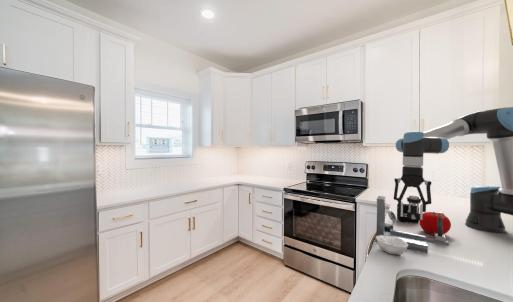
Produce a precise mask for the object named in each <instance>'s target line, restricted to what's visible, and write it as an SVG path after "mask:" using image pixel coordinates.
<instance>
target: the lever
mask: <svg viewBox="0 0 513 302" xmlns="http://www.w3.org/2000/svg"><path fill="white" fill-rule="evenodd" d="M435 213H436V217H437V218H438V231H437V234H436V233H435V235H434V237H433V238H435V240H439V241H444V242H446V241H447V239H446V238H447V237H446V236H445V234H443V219H444V218H445V216H446V215H445V213H443V212H441V211H439V212H435Z"/></svg>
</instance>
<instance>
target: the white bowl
mask: <svg viewBox="0 0 513 302" xmlns="http://www.w3.org/2000/svg"><path fill="white" fill-rule="evenodd" d="M375 240H377V242H376V243H377V245H378V247H379V249H381V251H384V252H386V253H388V254H390V255H402V254H403V253H405V251H406V250H408V249H407V247H408V244H407V242H406V241H404V240H401V239H399V238H397V237H392V236H384V235H379V236H375Z"/></svg>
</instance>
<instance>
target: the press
mask: <svg viewBox="0 0 513 302" xmlns="http://www.w3.org/2000/svg"><path fill="white" fill-rule="evenodd" d="M385 210H386V196H383V195H378V196H377V198H376V236H379V235H384V236H392V237H397V238H399V239H401V240H404V241H406V242H407V244H408V247H407V249H406V250H410V251H415V252H419V253H422V254H423V253H424V254H428V253H429V250H428V249H429V246H428V244H427V242H430V243H435V244H439V245H444V246H445V245H446V246H449V245H450V242H449V240H446V242H444V241H439V240H435V238H434V237H429V236H426V235H422V234H421V235H420V234H416V233H415V234H414V233H410V232H405V231H399V230H395V229H393V230H391V232H386V231H385V223H386V222H385V221H386V211H385ZM376 236H375V237H376ZM374 240H375V243H378V242H377V240H376V239H374Z"/></svg>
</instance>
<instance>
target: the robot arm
mask: <svg viewBox="0 0 513 302" xmlns="http://www.w3.org/2000/svg"><path fill="white" fill-rule="evenodd" d="M476 134H478V135H479V134H483V135H485V134H486V138H487V140H490V141H491V143H492V145H493V151H494V155H495V161H496V165H497V169H498V174H499V179H500V183H501V186H496V185H494V186H493V185H491V186H490V185H475V186H471V188H470V193H469V194H470V197H469V198H470V201H469V203H470V204H469V205H470V207H469V213H468V215H467V218H465V225H466V226H467V227H469V228H472V229H475V230H479V231H482V232H483V231H484V232H487V233H495V234H497V233H498V234H500V233H501V234H502V233H505V232H506V225H505V224H504V221H503V219H502V216H501V215H502V214H504V215H508V216H513V106H509V107H508V106H507V107H498V108H493V109H487V110H480V111H475V112H471V113H469V114H465V115H463V116H461V117H458V118H455V119H453V120H451V121H449V123H447V124H444V125H441V126H438V127H436V128H432V129H430V130H426V131H408V132H407V131H406V132H405V133H403V137H402V138H398V140H396V143H395V149H396V150H397V151H398V152H399V153H402V165H403V166H402V169H401V171H402V173H401V174H402V175H401V177H395V178H394V193H393V200H394V201H397V204H398V208H399V209H401V217H403V204H404V201H403V198H404V196H405V194H406V191H407V189H408V188H416V190H417V193H418V195H419V199H421V203H419V205H420V206H419V213H420V220H422V216H423V213H425V212H427V205H431V204H432V194H431V192H432V191H431V186H432V181H431V180H427V179H425V178H424V168H423V166H424V154H435V155H436V154H437V155H439V154H444V153H446V152H447V151H448V150H449V149H450V142H449V140H450V139H452V138H456V137H464V136H467V135H476ZM401 181H402V182H403V184H404V185H403V188H402V190H401V192H400V194H399V197H398V191H399V184H400V183H401ZM423 183H424V185H425V186H426V187H425V188H426V198H427V199H425V197H424V194H423V191H422V189H421V187H420V186H421V185H422V184H423Z"/></svg>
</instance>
